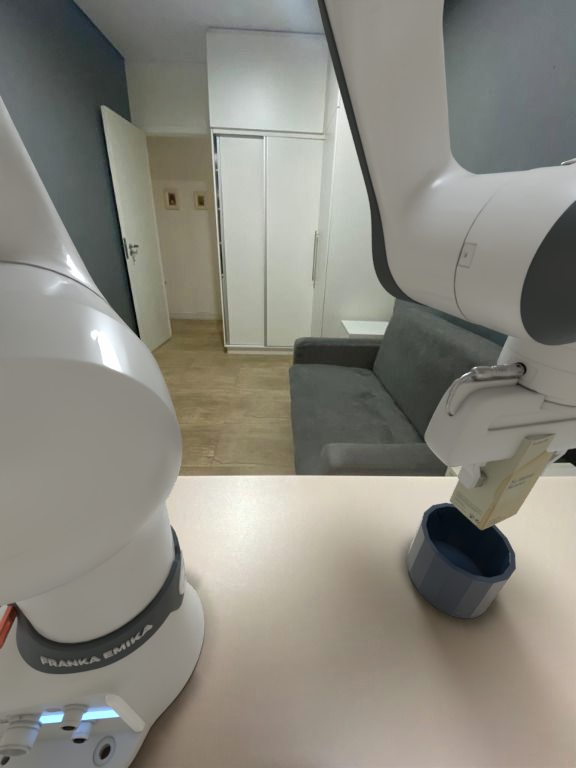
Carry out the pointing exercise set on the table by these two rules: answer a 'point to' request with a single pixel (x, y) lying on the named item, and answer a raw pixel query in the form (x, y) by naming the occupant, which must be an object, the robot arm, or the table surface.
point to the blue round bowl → (458, 562)
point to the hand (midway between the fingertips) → (499, 478)
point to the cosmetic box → (504, 484)
